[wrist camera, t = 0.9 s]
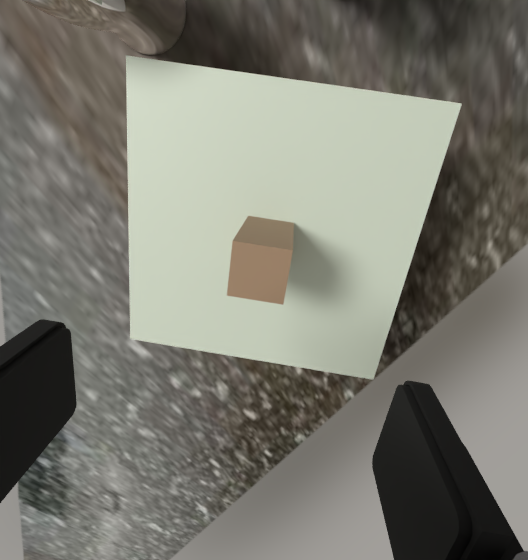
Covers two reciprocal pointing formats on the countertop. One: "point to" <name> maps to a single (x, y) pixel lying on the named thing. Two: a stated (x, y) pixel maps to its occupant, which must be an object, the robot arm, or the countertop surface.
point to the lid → (274, 212)
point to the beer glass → (124, 19)
